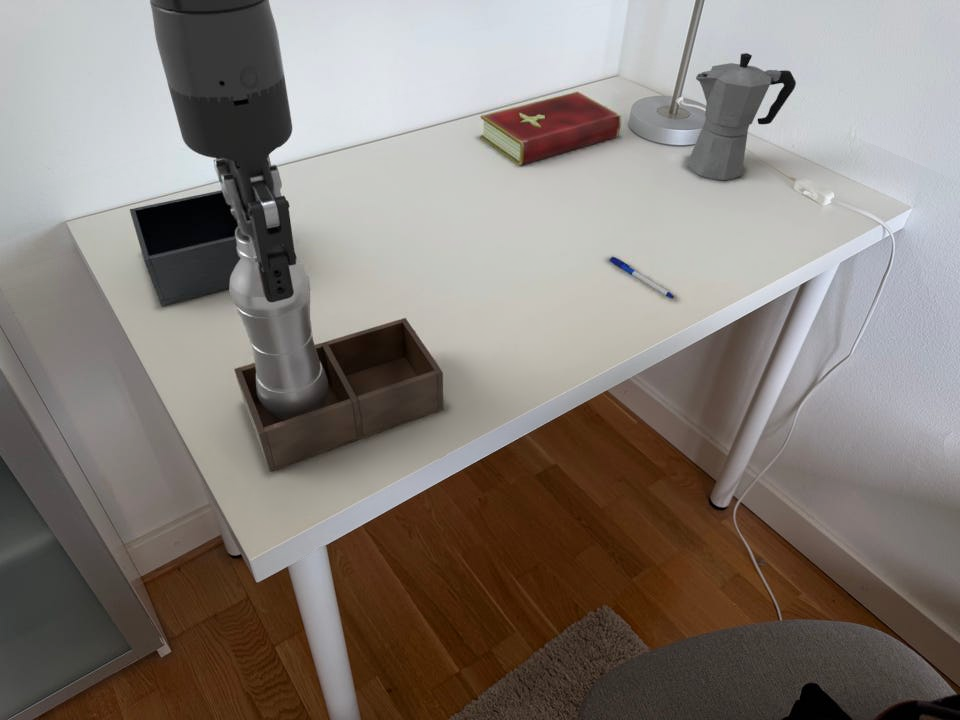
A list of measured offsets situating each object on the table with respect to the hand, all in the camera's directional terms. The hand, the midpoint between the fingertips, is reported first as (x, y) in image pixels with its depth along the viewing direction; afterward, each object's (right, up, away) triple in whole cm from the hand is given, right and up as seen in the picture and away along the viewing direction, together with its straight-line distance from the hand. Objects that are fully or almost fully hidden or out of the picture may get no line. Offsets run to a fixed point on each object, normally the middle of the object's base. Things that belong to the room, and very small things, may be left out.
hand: (269, 275), depth 57 cm
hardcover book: (+30, +31, +62) cm, 75 cm away
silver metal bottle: (-1, -12, +11) cm, 16 cm away
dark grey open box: (-18, +5, +31) cm, 37 cm away
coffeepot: (+57, +24, +55) cm, 83 cm away
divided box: (+4, -12, +14) cm, 19 cm away
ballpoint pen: (+38, +3, +32) cm, 50 cm away
